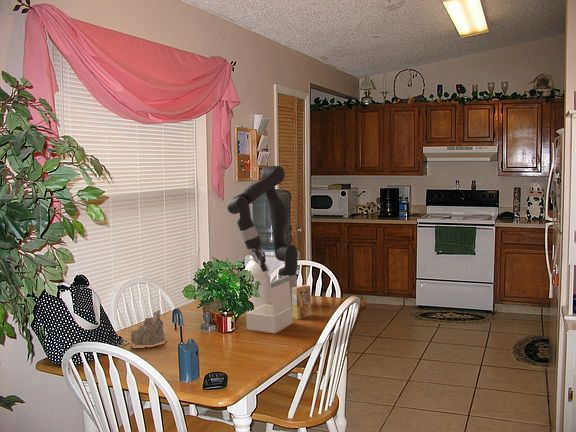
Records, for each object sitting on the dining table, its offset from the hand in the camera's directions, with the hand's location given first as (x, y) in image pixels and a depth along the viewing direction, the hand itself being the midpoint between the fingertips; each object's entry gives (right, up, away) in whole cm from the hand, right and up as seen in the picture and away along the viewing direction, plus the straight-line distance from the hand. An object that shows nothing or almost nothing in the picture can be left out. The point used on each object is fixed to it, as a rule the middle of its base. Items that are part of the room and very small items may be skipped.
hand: (265, 271), depth 275 cm
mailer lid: (+9, -18, -7) cm, 21 cm away
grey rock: (-50, -30, -21) cm, 62 cm away
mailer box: (+2, -26, -3) cm, 26 cm away
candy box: (+18, -24, +12) cm, 32 cm away
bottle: (-5, -23, +32) cm, 40 cm away
